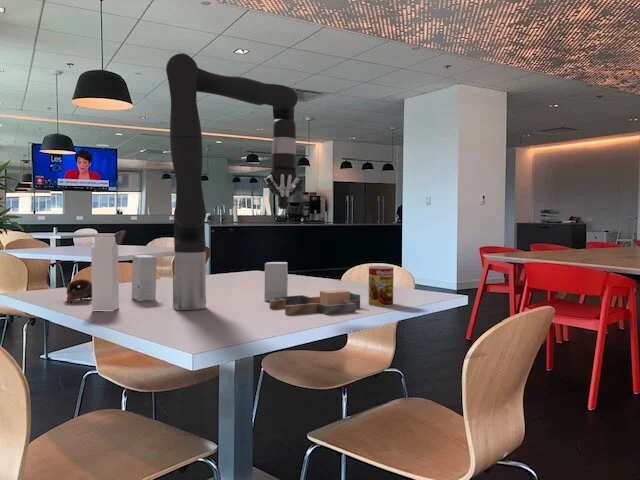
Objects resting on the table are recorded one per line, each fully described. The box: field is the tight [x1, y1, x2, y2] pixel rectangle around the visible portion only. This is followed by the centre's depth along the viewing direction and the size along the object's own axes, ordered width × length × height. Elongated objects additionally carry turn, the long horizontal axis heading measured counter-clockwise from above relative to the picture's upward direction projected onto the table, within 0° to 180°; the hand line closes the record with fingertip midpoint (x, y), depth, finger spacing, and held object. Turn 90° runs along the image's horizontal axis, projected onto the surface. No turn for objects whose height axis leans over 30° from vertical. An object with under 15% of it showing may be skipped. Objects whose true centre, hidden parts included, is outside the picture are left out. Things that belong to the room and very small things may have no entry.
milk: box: [90, 235, 120, 311], centre depth 154 cm, size 6×6×22 cm
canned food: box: [368, 265, 394, 307], centre depth 167 cm, size 8×8×12 cm
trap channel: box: [269, 292, 361, 316], centre depth 158 cm, size 25×22×4 cm
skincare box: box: [131, 254, 158, 302], centre depth 175 cm, size 8×6×15 cm
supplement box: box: [264, 261, 289, 302], centre depth 175 cm, size 7×7×13 cm
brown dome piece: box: [65, 278, 92, 303], centre depth 171 cm, size 12×10×8 cm
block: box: [319, 289, 351, 305], centre depth 161 cm, size 8×5×5 cm, turn 116°
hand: (282, 208), depth 162 cm, fingers closed
